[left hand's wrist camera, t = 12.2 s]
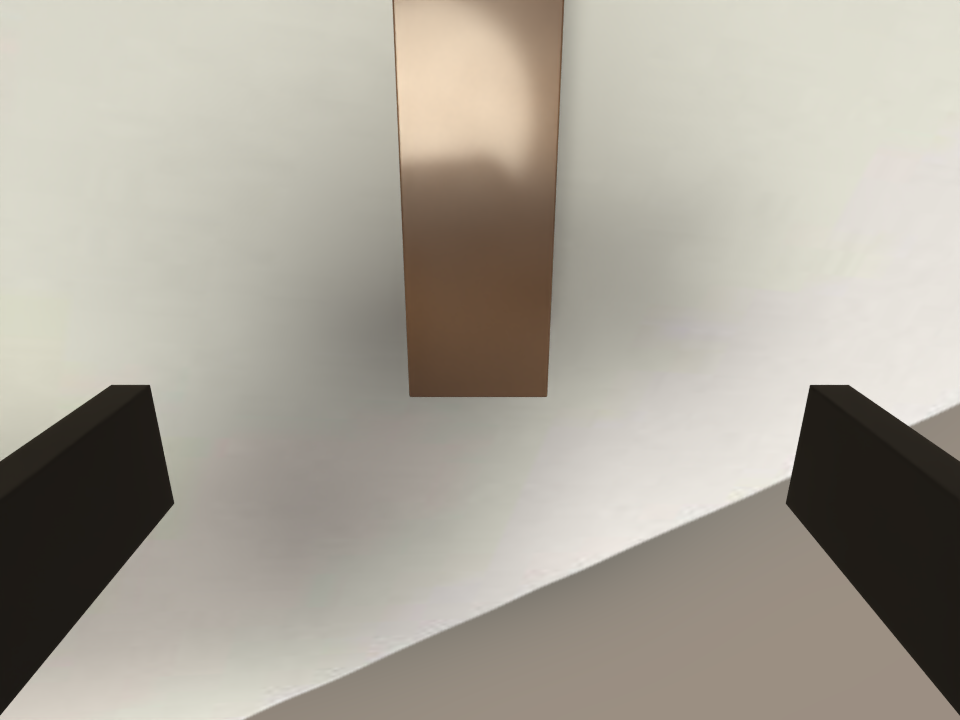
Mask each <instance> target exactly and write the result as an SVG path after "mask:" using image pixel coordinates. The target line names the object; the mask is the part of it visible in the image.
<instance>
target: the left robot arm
mask: <svg viewBox="0 0 960 720" xmlns="http://www.w3.org/2000/svg"><path fill="white" fill-rule="evenodd" d="M173 504H174V500H173V495H172V490H171V485H170V481H169V476H168V471H167V466H166V461H165V456H164V451H163V446H162V442H161V437H160V432H159V427H158V422H157V417H156V412H155V407H154V403H153V398H152V393H151V388H150V385H111V386H109V387H108V388H106V389H105V390H103V391H102V392H100V393H99V394H98V395H96V396H95V397H93V398H92V399H90V400H89V401H87V402H86V403H85V404H83V405H82V406H80V407H79V408H77V409H76V410H74V411H73V412H71V413H70V414H69V415H67V416H66V417H64V418H63V419H61V420H60V421H58V422H57V423H55V424H54V425H53V426H51V427H50V428H48V429H47V430H45V431H44V432H42V433H41V434H40V435H38V436H37V437H35V438H34V439H32V440H31V441H29V442H28V443H26V444H25V445H24V446H22V447H21V448H19V449H18V450H16V451H15V452H13V453H12V454H10V455H9V456H8V457H6V458H5V459H3V460H2V461H0V715H1V714H2V713H3V711H4V710H5V709H6V708H7V707H8V705H9V704H10V703H11V702H12V700H13V699H14V698H15V697H16V696H17V694H18V693H19V692H20V691H21V689H22V688H23V687H24V686H25V685H26V683H27V682H28V681H29V680H30V679H31V677H32V676H33V675H34V674H35V672H36V671H37V670H38V669H39V668H40V666H41V665H42V664H43V663H44V661H45V660H46V659H47V658H48V657H49V655H50V654H51V653H52V652H53V650H54V649H55V648H56V647H57V646H58V644H59V643H60V642H61V641H62V640H63V638H64V637H65V636H66V635H67V633H68V632H69V631H70V630H71V629H72V627H73V626H74V625H75V624H76V622H77V621H78V620H79V619H80V618H81V616H82V615H83V614H84V613H85V612H86V610H87V609H88V608H89V607H90V605H91V604H92V603H93V602H94V601H95V599H96V598H97V597H98V596H99V594H100V593H101V592H102V591H103V590H104V588H105V587H106V586H107V585H108V584H109V582H110V581H111V580H112V579H113V577H114V576H115V575H116V574H117V573H118V571H119V570H120V569H121V568H122V566H123V565H124V564H125V563H126V562H127V560H128V559H129V558H130V557H131V555H132V554H133V553H134V552H135V551H136V549H137V548H138V547H139V546H140V545H141V543H142V542H143V541H144V540H145V538H146V537H147V536H148V535H149V534H150V532H151V531H152V530H153V529H154V527H155V526H156V525H157V524H158V523H159V521H160V520H161V519H162V518H163V517H164V515H165V514H166V513H167V512H168V510H169V509H170V508H171V507H172V506H173ZM786 504H787V506H788V507H789V508H790V509H791V510H792V512H793V513H794V514H795V515H796V516H797V518H798V519H799V520H800V521H801V523H802V524H803V525H804V526H805V527H806V529H807V530H808V531H809V532H810V534H811V535H812V536H813V537H814V538H815V540H816V541H817V542H818V543H819V545H820V546H821V547H822V548H823V549H824V551H825V552H826V553H827V554H828V555H829V557H830V558H831V559H832V560H833V561H834V563H835V564H836V565H837V566H838V568H839V569H840V570H841V571H842V572H843V574H844V575H845V576H846V577H847V579H848V580H849V581H850V582H851V584H852V585H853V586H854V587H855V588H856V590H857V591H858V592H859V593H860V594H861V596H862V597H863V598H864V599H865V601H866V602H867V603H868V604H869V605H870V607H871V608H872V609H873V610H874V611H875V613H876V614H877V615H878V616H879V618H880V619H881V620H882V621H883V622H884V624H885V625H886V626H887V627H888V629H889V630H890V631H891V632H892V633H893V635H894V636H895V637H896V638H897V640H898V641H899V642H900V643H901V644H902V646H903V647H904V648H905V649H906V650H907V652H908V653H909V654H910V655H911V657H912V658H913V659H914V660H915V661H916V663H917V664H918V665H919V666H920V668H921V669H922V670H923V671H924V672H925V674H926V675H927V676H928V677H929V678H930V680H931V681H932V682H933V683H934V685H935V686H936V687H937V688H938V689H939V691H940V692H941V693H942V694H943V696H944V697H945V698H946V699H947V700H948V702H949V703H950V704H951V705H952V706H953V708H954V709H955V710H956V711H957V713H958V714H959V715H960V461H958V460H957V459H955V458H954V457H952V456H951V455H950V454H948V453H947V452H945V451H944V450H942V449H941V448H939V447H938V446H936V445H935V444H933V443H932V442H931V441H929V440H928V439H926V438H925V437H923V436H922V435H920V434H919V433H918V432H916V431H915V430H913V429H912V428H910V427H909V426H907V425H906V424H905V423H903V422H902V421H900V420H899V419H897V418H896V417H894V416H893V415H891V414H890V413H889V412H887V411H886V410H884V409H883V408H881V407H880V406H878V405H877V404H875V403H874V402H873V401H871V400H870V399H868V398H867V397H865V396H864V395H862V394H861V393H860V392H858V391H857V390H855V389H854V388H852V387H851V386H849V385H810V388H809V393H808V398H807V403H806V407H805V412H804V417H803V422H802V427H801V432H800V437H799V442H798V446H797V451H796V456H795V461H794V466H793V471H792V476H791V481H790V485H789V490H788V495H787V500H786Z"/></svg>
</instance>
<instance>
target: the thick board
mask: <svg viewBox="0 0 960 720" xmlns="http://www.w3.org/2000/svg"><path fill="white" fill-rule="evenodd" d="M392 1H393V25H394V48H395V71H396V94H397V118H398V141H399V164H400V188H401V211H402V234H403V257H404V281H405V304H406V327H407V350H408V374H409V395H410V397H547V388H548V365H549V341H550V318H551V295H552V272H553V249H554V225H555V202H556V179H557V156H558V132H559V109H560V86H561V63H562V40H563V16H564V0H392Z"/></svg>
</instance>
